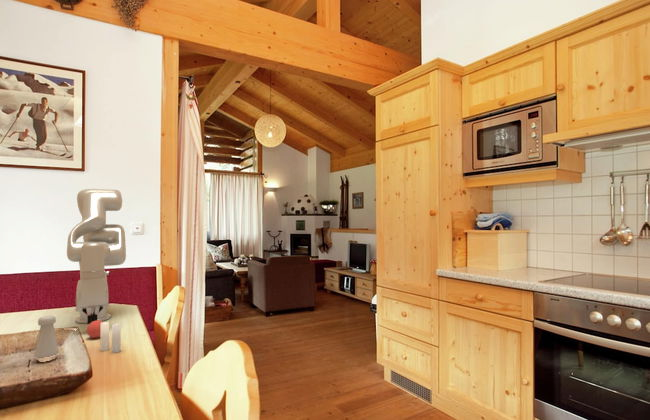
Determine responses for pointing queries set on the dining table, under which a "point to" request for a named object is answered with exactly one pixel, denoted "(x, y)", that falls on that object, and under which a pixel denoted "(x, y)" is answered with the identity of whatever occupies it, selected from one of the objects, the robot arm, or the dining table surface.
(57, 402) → the dining table surface
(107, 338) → the pin
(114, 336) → the pin
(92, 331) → the ball
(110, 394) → the dining table surface
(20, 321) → the dining table surface
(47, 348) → the salt shaker
